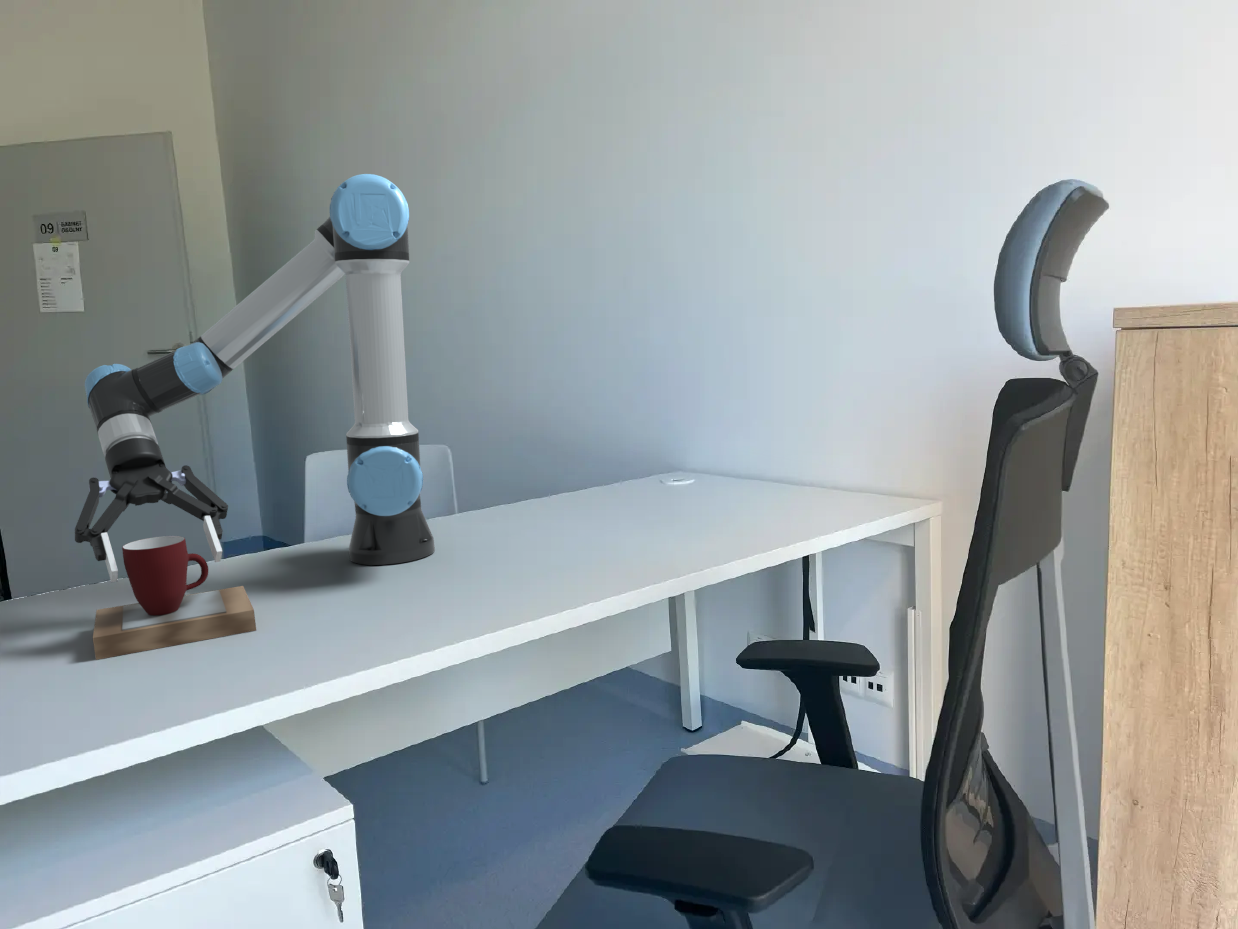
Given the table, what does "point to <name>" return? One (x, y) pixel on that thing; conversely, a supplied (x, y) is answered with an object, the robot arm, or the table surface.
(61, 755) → the table surface
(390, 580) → the table surface
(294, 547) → the table surface
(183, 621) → the plinth
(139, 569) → the mug
